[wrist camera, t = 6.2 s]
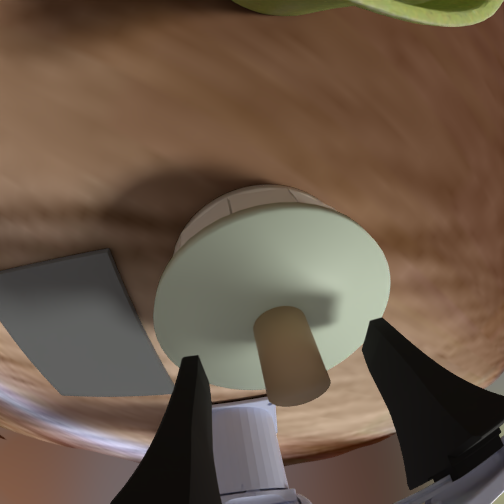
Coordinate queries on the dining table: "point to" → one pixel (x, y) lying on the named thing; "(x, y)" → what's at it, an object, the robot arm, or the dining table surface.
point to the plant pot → (388, 9)
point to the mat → (81, 327)
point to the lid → (272, 298)
